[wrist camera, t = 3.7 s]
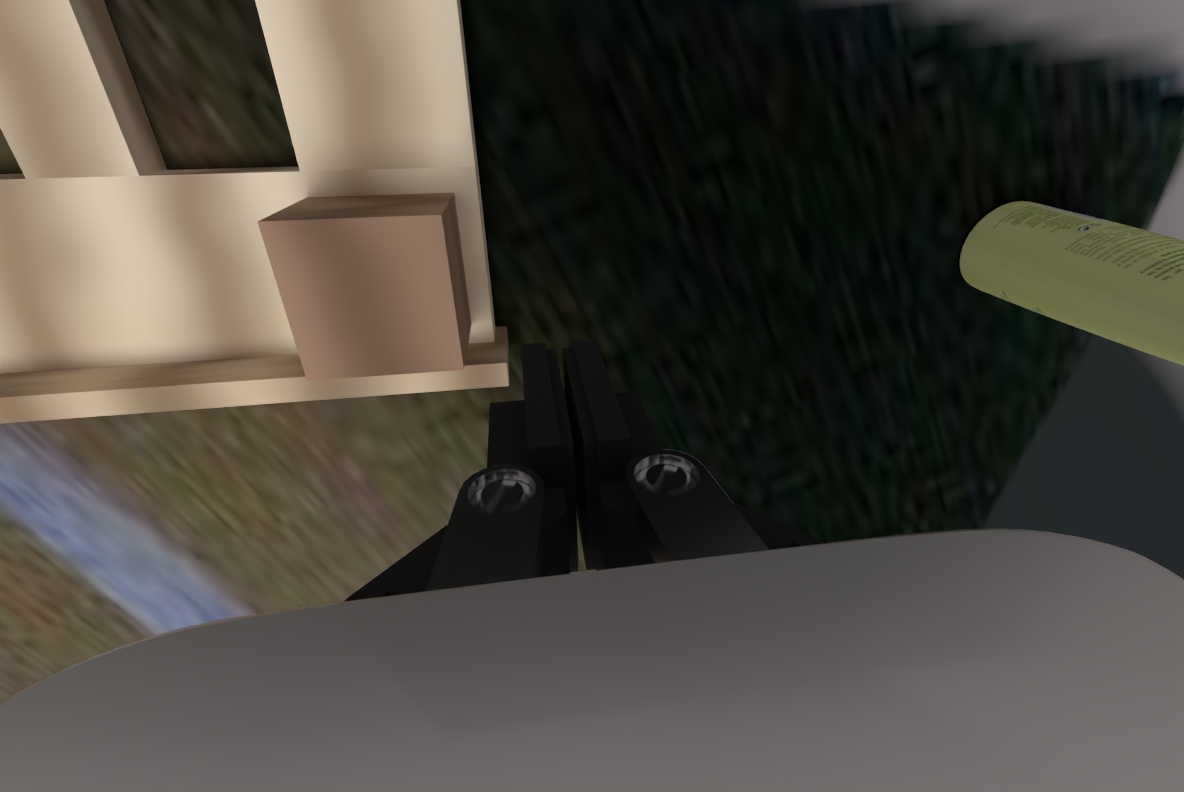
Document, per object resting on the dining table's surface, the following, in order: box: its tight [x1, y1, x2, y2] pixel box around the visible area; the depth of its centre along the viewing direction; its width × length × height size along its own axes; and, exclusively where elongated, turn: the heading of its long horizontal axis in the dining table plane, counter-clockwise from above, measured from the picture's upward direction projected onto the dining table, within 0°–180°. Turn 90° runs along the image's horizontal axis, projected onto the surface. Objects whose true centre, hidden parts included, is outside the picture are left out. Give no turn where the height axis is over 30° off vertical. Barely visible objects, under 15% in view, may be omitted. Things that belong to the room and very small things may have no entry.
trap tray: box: [0, 0, 509, 423], centre depth 21 cm, size 30×15×4 cm, turn 91°
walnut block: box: [258, 193, 471, 381], centre depth 22 cm, size 6×6×5 cm
